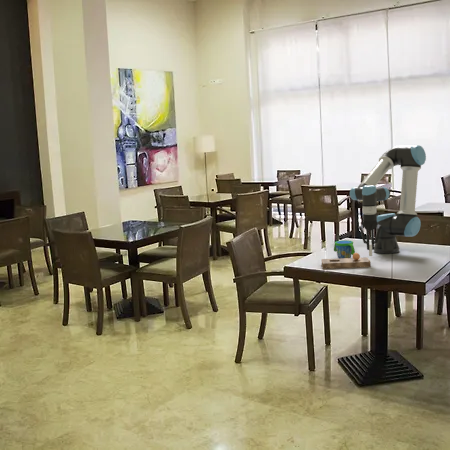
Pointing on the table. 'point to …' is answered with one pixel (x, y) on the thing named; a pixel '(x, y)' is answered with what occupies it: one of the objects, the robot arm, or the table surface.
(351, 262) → the light wood flat slab
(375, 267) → the table surface
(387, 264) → the table surface
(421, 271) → the table surface
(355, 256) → the ball
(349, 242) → the snack cup
